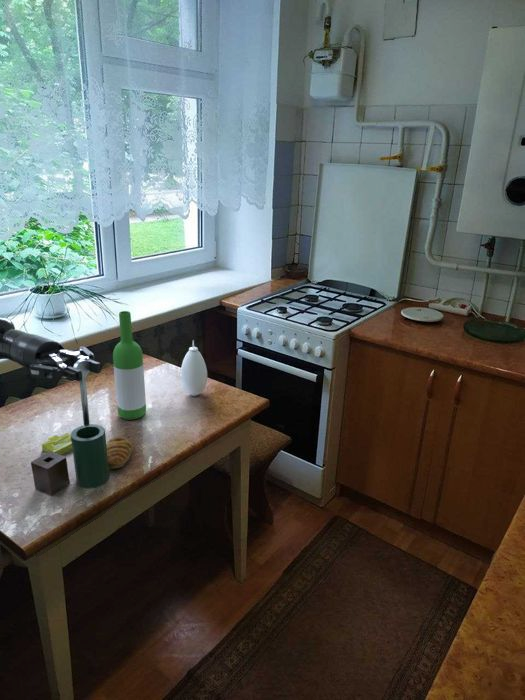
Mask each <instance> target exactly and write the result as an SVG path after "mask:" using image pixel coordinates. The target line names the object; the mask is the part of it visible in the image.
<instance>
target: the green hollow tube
mask: <svg viewBox="0 0 525 700" xmlns="http://www.w3.org/2000/svg"><path fill="white" fill-rule="evenodd" d="M70 435H71V442H72V449H73V450H72V457H73V464H74V471H75V479H76V483H77V485H78V486H79V487H81V488H85V489H93V488H97V487H100V486H103V485H104V484H106V483H107V482H108V481H109V479H110V469H109V466H108V456H107V446H106V445H107V438H106V437H107V436H106V428H105V427H104V426H102V425H100V424H95V423H90V424H89V426H84V424H83V425H80V426H78V427H75V428H74V429H73V430H72V431H71V432H70Z"/></svg>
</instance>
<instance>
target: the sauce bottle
mask: <svg viewBox="0 0 525 700" xmlns="http://www.w3.org/2000/svg"><path fill="white" fill-rule="evenodd" d="M180 382H181V386H182V388H183V390H184V392H185V393H187V394H188V395H189V396H192V397H197V396H198V395H199V396H200V394H201V393H203V392H204V391H205V389H206V387H207V384H208V369H207V365H206V361H205V359H204V357H203V355H202V354H201V351H199V348H198V347H197V346H195V340H194V339H193V340H192V346H191V347H189V348H188V351H187V352H186V354H185V356H184V358H183V360H182V363H181V368H180Z"/></svg>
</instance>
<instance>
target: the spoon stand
mask: <svg viewBox="0 0 525 700" xmlns="http://www.w3.org/2000/svg"><path fill="white" fill-rule="evenodd" d="M30 465H31V470H32V478H33V483H34V488H35V490H36V491H38V492H41V493H42V494H45V495H48V496H50V497H53V496H54V495H56V494H58V493H59V492H60V491H62V490H63V489H64V488H66V487H67V486H69V485H70V476H69V467H68V461H67V457H66V456H64V455H63V454H62V455H59V454H57V453H54V452H52V451H49V452H47V453H46V452H44V454H42V455H40V456H38V457H37V458H35V459H33V460H32V461H31V462H30Z"/></svg>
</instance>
